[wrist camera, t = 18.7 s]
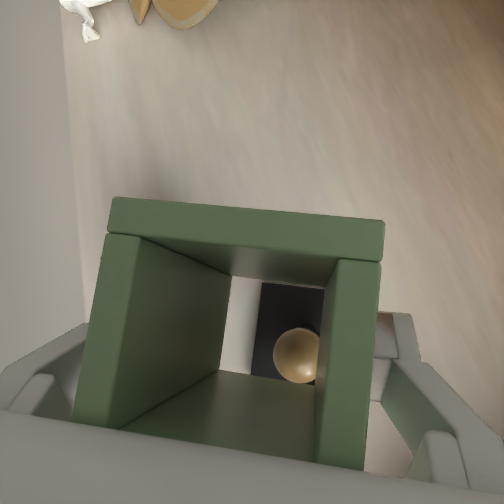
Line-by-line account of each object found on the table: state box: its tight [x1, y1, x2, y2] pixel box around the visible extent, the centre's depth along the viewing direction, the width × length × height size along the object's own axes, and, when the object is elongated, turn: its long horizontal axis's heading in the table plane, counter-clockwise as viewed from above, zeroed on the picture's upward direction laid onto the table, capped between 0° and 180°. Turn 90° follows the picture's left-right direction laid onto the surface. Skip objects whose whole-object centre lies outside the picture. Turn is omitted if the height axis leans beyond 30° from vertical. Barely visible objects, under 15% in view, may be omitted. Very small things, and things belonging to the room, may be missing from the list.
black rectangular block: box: [251, 282, 325, 386], centre depth 24 cm, size 8×8×14 cm
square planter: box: [71, 197, 385, 471], centre depth 12 cm, size 6×6×9 cm
